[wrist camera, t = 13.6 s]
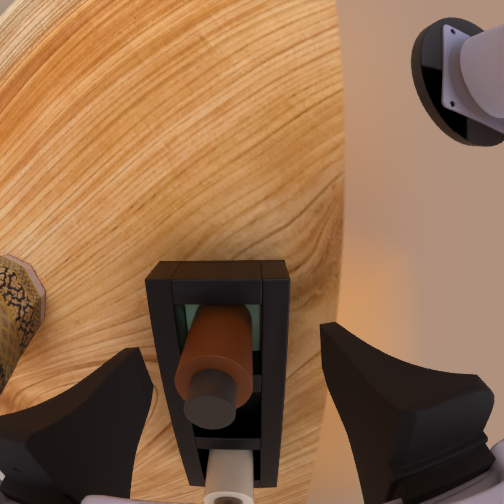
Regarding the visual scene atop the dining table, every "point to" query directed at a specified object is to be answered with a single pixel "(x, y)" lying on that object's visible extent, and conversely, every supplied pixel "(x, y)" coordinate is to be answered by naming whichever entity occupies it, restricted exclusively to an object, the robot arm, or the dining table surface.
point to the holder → (263, 355)
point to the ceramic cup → (17, 312)
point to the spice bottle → (216, 365)
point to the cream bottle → (229, 477)
